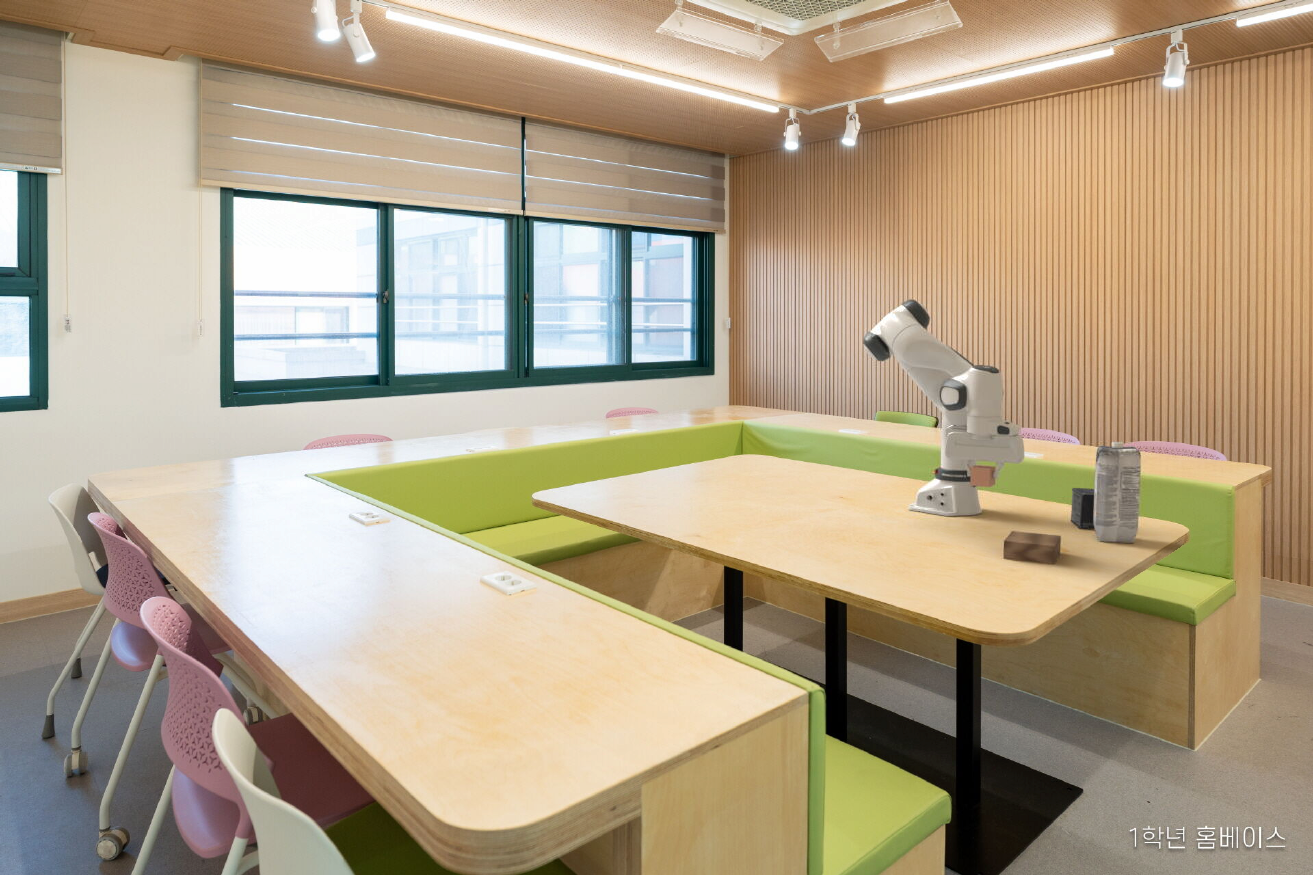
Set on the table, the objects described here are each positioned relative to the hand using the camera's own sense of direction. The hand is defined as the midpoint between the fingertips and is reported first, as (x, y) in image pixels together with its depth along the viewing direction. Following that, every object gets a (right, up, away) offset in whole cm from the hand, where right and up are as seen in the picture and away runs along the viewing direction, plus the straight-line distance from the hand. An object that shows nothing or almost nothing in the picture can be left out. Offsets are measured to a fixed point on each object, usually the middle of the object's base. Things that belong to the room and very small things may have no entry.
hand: (983, 477), depth 232 cm
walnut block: (+10, -20, -9) cm, 24 cm away
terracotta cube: (0, -2, 0) cm, 2 cm away
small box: (+39, -16, +22) cm, 48 cm away
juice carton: (+38, -18, +5) cm, 43 cm away
